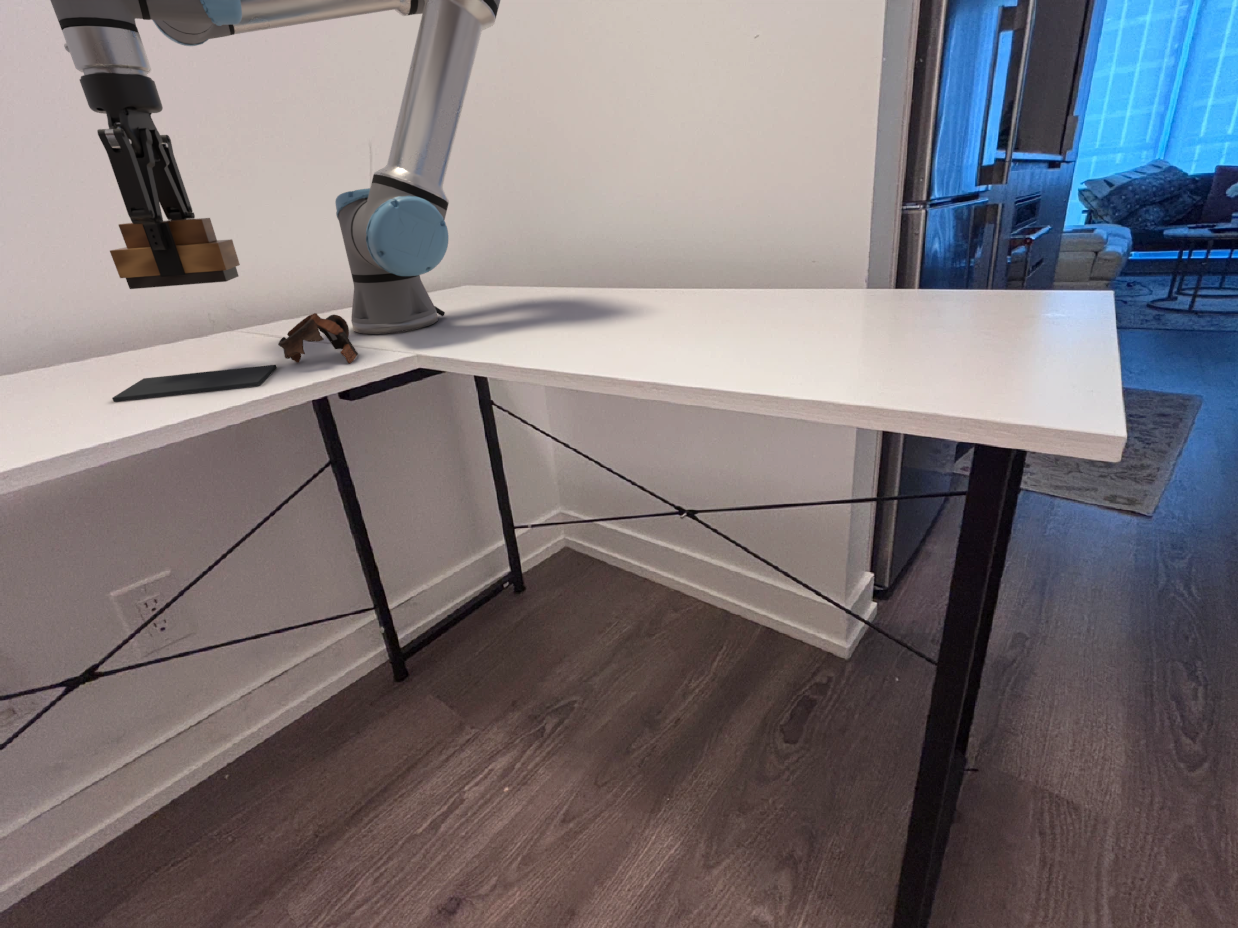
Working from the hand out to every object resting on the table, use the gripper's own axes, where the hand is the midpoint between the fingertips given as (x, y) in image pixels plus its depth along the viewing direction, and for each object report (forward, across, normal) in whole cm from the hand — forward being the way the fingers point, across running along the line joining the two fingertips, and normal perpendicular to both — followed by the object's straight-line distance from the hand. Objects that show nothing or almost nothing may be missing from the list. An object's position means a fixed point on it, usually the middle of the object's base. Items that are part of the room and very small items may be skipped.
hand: (183, 271), depth 85 cm
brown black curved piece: (+15, -2, +15) cm, 21 cm away
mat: (+15, +4, -1) cm, 15 cm away
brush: (+1, 0, 0) cm, 1 cm away
